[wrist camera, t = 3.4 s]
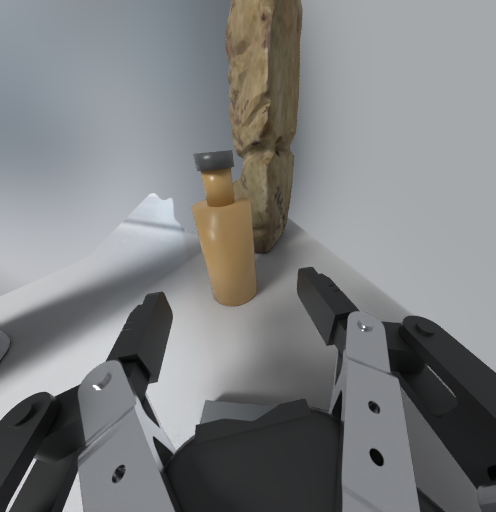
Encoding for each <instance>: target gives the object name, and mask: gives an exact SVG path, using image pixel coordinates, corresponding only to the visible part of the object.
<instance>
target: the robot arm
mask: <svg viewBox="0 0 496 512" xmlns="http://www.w3.org/2000/svg"><path fill="white" fill-rule="evenodd" d="M297 293H298V296H299V298H300V300H301V302H302V303H303V305H304V307H305V309H306V310H307V312H308V314H309V316H310V317H311V319H312V321H313V322H314V324H315V326H316V328H317V329H318V331H319V333H320V335H321V336H322V338H323V340H324V341H325V343H326V345H327V346H329V345H334V344H335V346H336V347H337V349H338V350H337V355H336V365H335V374H334V383H333V391H332V396H331V401H330V407H329V413H328V412H326V411H323V410H321V409H318V408H314V407H309V406H308V405H307V403H306V400H305V399H301V400H297V401H292V402H288V403H284V404H280V405H278V406H277V407H275V408H273V409H272V410H270V411H269V412H267V413H266V414H264V415H263V416H261V417H259V418H258V419H256V420H254V421H246V420H236V419H226V418H223V419H219V420H215V421H211V422H207V423H203V424H199V425H196V430H195V435H194V436H192V437H191V438H190V439H188V440H187V441H186V442H185V443H184V444H183V445H182V446H181V447H180V448H179V449H178V450H177V451H176V450H175V448H174V446H173V444H172V442H171V440H170V439H169V437H168V436H167V434H166V433H165V431H164V429H163V427H162V425H161V423H160V421H159V419H158V416H157V414H156V412H155V410H154V408H153V406H152V404H151V402H150V400H149V397H148V395H147V394H146V390H147V386H148V384H150V383H155V382H158V378H159V374H160V370H161V365H162V361H163V357H164V353H165V349H166V345H167V341H168V337H169V333H170V329H171V324H172V320H173V314H172V310H171V308H170V305H169V303H168V301H167V299H166V296H165V294H164V293H163V292H157V293H151V294H147V295H146V297H145V299H144V302H143V304H142V305H138V306H137V307H136V308H135V309H134V310H133V311H132V312H131V313H130V315H129V317H128V319H127V321H126V324H125V325H124V327H123V329H122V331H121V333H120V335H119V337H118V338H117V340H116V342H115V344H114V346H113V348H112V350H111V352H110V354H109V356H108V358H107V360H106V362H104V363H102V364H100V365H99V366H97V367H96V368H94V369H93V370H92V371H91V372H90V373H89V374H88V375H87V376H86V377H85V378H84V380H83V381H82V383H81V384H80V385H78V386H76V387H74V388H71V389H69V390H67V391H65V392H63V393H61V394H59V395H57V396H55V397H54V396H52V395H51V394H49V393H47V392H40V393H36V394H34V395H32V396H30V397H28V398H26V399H24V400H23V401H21V402H20V403H19V404H17V405H16V406H15V407H14V408H12V409H11V410H10V411H9V412H8V413H7V414H6V415H5V416H4V417H3V418H2V420H1V421H0V512H6V509H7V506H8V504H9V502H10V500H11V498H12V497H13V495H14V493H15V491H16V489H17V487H18V486H19V484H20V482H21V480H22V478H23V476H24V475H25V473H26V471H27V469H28V467H29V465H30V464H31V462H32V460H33V458H34V459H37V460H36V462H35V464H34V466H33V468H32V469H31V471H30V473H29V475H28V477H27V479H26V481H25V483H24V484H23V486H22V488H21V490H20V492H19V494H18V496H17V498H16V499H15V501H14V503H13V505H12V507H11V509H10V511H9V512H62V511H63V508H64V505H65V503H66V500H67V498H68V495H69V492H70V490H71V487H72V485H73V482H74V480H75V477H76V474H77V472H79V480H80V487H81V495H82V503H83V511H84V512H445V511H444V510H443V509H442V508H440V507H439V506H438V505H437V504H436V503H435V502H434V501H432V500H431V499H430V498H429V497H428V496H427V495H425V494H424V493H423V492H422V491H421V490H420V489H419V488H417V487H416V483H415V477H414V471H413V464H412V458H411V452H410V446H409V439H408V433H407V427H406V421H405V414H404V408H403V402H402V396H401V389H400V385H401V387H402V388H403V390H404V391H405V392H406V394H407V395H408V396H409V398H410V399H411V400H412V402H413V403H414V404H415V406H416V407H417V409H418V410H419V411H420V413H421V414H422V415H423V417H424V418H425V419H426V421H427V422H428V423H429V425H430V426H431V428H432V429H433V430H434V432H435V433H436V434H437V436H438V437H439V438H440V440H441V441H442V442H443V444H444V445H445V447H446V448H447V449H448V451H449V452H450V453H451V455H452V456H453V457H454V459H455V460H456V461H457V463H458V464H459V466H460V467H461V468H462V470H463V471H464V472H465V474H466V475H467V476H468V478H469V479H470V481H471V482H472V483H473V485H474V486H475V487H476V489H477V490H478V492H477V496H478V501H479V505H480V508H481V510H482V512H496V373H495V372H494V371H493V370H492V369H490V368H489V367H488V366H487V365H486V364H484V363H483V362H482V361H481V360H480V359H478V358H477V357H476V356H475V355H474V354H472V353H471V352H470V351H469V350H468V349H466V348H465V347H464V346H463V345H462V344H460V343H459V342H458V341H457V340H456V339H454V338H453V337H452V336H451V335H450V334H448V333H447V332H446V331H445V330H443V329H442V328H441V327H440V326H439V325H437V324H436V323H434V322H432V321H430V320H428V319H426V318H423V317H419V316H407V317H405V318H404V320H403V322H402V323H392V322H382V321H380V320H379V319H377V318H376V317H375V316H373V315H371V314H369V313H366V312H362V311H359V310H358V309H357V307H356V306H355V305H354V304H353V303H352V302H351V301H350V300H349V299H348V298H347V296H346V295H345V294H344V293H343V292H342V291H340V289H339V288H338V287H337V286H336V284H335V283H334V282H333V281H332V280H331V279H330V278H329V277H327V276H325V275H324V274H318V273H317V272H316V270H315V269H314V268H313V267H307V268H301V269H299V270H298V280H297ZM9 345H10V339H9V337H8V336H7V335H6V334H5V333H3V332H2V331H1V330H0V360H1V358H2V357H3V356H4V354H5V353H6V352H7V350H8V347H9ZM427 366H429V367H430V368H431V369H432V370H433V371H434V372H435V373H436V374H437V375H438V376H439V377H440V378H441V379H442V381H443V382H444V383H445V384H446V385H447V386H448V387H449V388H450V389H451V390H452V392H453V393H454V394H455V396H456V398H457V399H456V398H455V397H454V396H453V395H452V393H451V392H450V391H449V390H448V389H447V388H446V387H445V386H444V385H443V384H442V383H441V381H440V380H439V379H438V378H437V377H436V376H435V375H434V374H433V373H432V372H431V371H430V370H429V368H428V367H427ZM391 373H392V374H391Z"/></svg>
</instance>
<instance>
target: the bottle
mask: <svg viewBox="0 0 496 512" xmlns="http://www.w3.org/2000/svg"><path fill="white" fill-rule="evenodd" d="M193 155H194V159H195V164H196V169H197V171H201V175H202V180H203V185H204V190H205V195H206V199H205V200H202V201H199V202H197V203H195V204H193V205H192V207H191V209H192V213H193V217H194V220H195V224H196V228H197V232H198V236H199V240H200V244H201V248H202V252H203V256H204V260H205V264H206V268H207V272H208V276H209V280H210V284H211V288H212V292H213V296H214V298H215V300H216V301H217V302H218V303H220V304H222V305H225V306H239V305H242V304H245V303H247V302H248V301H250V300H251V299H252V298H253V297H254V296H255V294H256V292H257V282H256V268H255V255H254V242H253V228H252V215H251V202H250V199H249V198H247V197H243V196H234V191H233V183H232V176H231V167H234V162H233V154H232V150H230V151H218V152H209V153H199V154H193Z"/></svg>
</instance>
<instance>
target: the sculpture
mask: <svg viewBox="0 0 496 512" xmlns="http://www.w3.org/2000/svg"><path fill="white" fill-rule="evenodd" d="M301 28H302V5H301V1H300V0H231V8H230V13H229V17H228V22H227V28H226V52H227V57H228V62H229V65H230V67H229V72H228V81H229V86H230V90H229V98H230V101H231V106H230V111H229V121H230V122H231V125H232V137H233V142H234V148H235V151H236V153H237V155H239V156H240V157H242V158H243V161H244V163H243V168H242V172H241V176H240V178H239V179H238V180H237V181H235V182H234V183H233V191H234V196H243V197H247V198H249V199H250V202H251V215H252V228H253V242H254V252H257V253H265V252H268V251H270V249H271V248H272V247H273V245H274V244H275V243H276V242H277V240H278V239H279V237H280V236H281V234H282V233H283V231H284V229H285V226H286V223H287V215H288V210H289V204H290V197H291V188H292V179H293V167H294V155H293V154H292V152H291V151H290V144H291V142H292V140H293V138H294V135H295V133H296V125H297V108H298V98H299V66H300V62H299V61H300V57H299V56H300V55H299V54H300V48H299V47H300V35H301Z"/></svg>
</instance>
